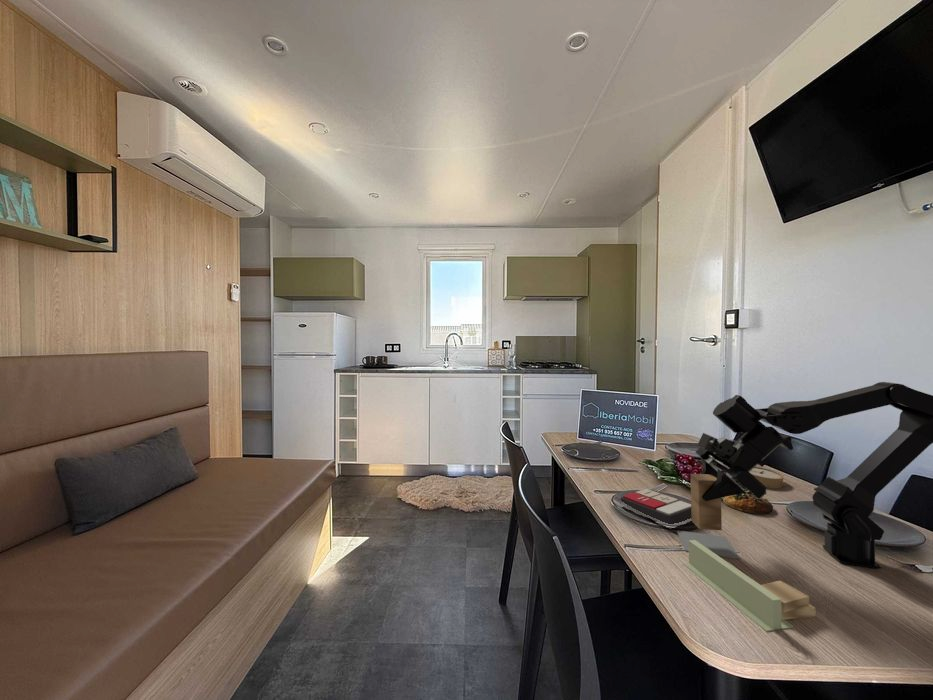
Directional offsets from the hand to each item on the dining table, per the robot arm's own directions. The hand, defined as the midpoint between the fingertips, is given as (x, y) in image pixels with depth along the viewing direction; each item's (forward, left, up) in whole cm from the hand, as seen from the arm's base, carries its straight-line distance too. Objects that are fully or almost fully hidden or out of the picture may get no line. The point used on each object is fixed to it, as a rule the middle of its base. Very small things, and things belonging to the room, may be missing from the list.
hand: (698, 495), depth 83 cm
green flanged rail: (-1, +16, -11) cm, 20 cm away
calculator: (+7, -15, -12) cm, 20 cm away
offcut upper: (-8, +19, -10) cm, 23 cm away
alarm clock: (-27, -48, -12) cm, 57 cm away
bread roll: (-18, -26, -12) cm, 34 cm away
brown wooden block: (-1, 0, -7) cm, 7 cm away
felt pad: (-1, 0, -11) cm, 11 cm away
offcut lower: (-8, +19, -11) cm, 23 cm away
